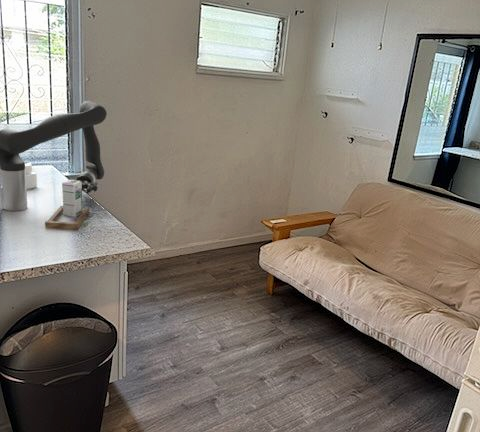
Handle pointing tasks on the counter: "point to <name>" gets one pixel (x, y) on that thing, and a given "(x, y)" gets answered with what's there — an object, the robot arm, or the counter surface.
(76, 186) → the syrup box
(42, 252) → the counter surface
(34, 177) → the medicine bottle
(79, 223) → the open wooden frame
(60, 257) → the counter surface
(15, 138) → the robot arm
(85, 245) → the counter surface
